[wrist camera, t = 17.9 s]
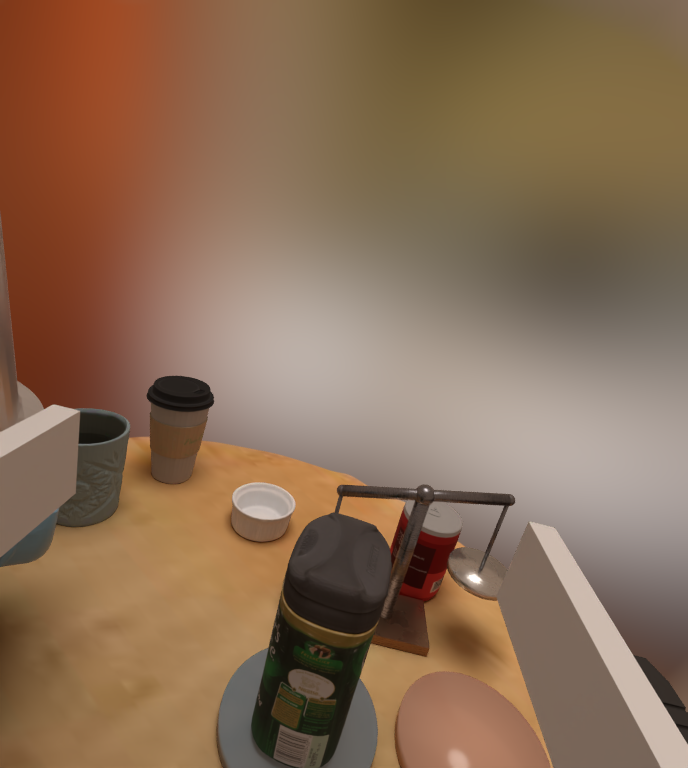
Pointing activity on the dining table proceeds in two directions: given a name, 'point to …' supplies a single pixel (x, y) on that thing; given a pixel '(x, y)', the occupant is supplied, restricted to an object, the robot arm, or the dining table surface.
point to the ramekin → (261, 511)
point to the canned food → (428, 549)
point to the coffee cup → (177, 425)
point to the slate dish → (234, 731)
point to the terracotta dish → (463, 727)
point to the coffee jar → (320, 639)
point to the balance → (465, 565)
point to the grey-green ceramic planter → (97, 468)
